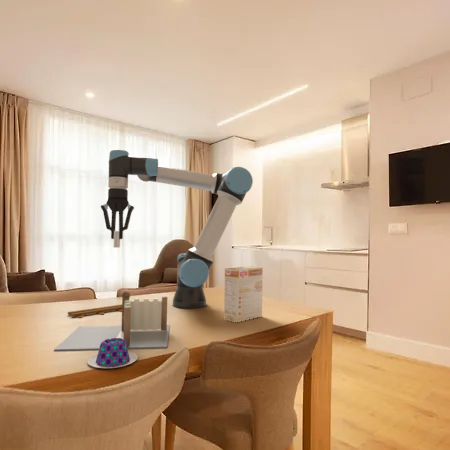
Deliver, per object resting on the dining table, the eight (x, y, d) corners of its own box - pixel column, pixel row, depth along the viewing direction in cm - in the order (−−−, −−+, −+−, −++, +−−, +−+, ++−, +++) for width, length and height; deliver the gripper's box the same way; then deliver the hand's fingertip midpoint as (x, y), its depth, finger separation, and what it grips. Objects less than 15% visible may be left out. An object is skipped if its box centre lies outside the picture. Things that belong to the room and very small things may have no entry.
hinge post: (129, 331, 112) (130, 290, 112) (128, 333, 109) (129, 292, 109) (121, 331, 111) (122, 290, 112) (120, 333, 109) (121, 292, 109)
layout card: (169, 326, 118) (169, 324, 118) (167, 347, 96) (167, 346, 96) (79, 327, 114) (79, 326, 114) (54, 350, 92) (54, 349, 92)
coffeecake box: (249, 313, 139) (250, 265, 140) (262, 316, 134) (263, 267, 135) (223, 319, 129) (224, 267, 129) (236, 323, 124) (237, 269, 124)
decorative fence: (65, 315, 133) (74, 320, 126) (65, 310, 133) (74, 315, 126) (124, 307, 150) (136, 310, 143) (124, 302, 151) (136, 306, 143)
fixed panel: (166, 330, 113) (167, 296, 113) (166, 332, 111) (167, 297, 111) (130, 331, 111) (131, 296, 112) (129, 333, 109) (130, 297, 110)
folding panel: (122, 331, 108) (123, 298, 109) (128, 330, 109) (129, 298, 109) (123, 346, 94) (124, 308, 94) (130, 345, 94) (131, 308, 95)
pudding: (77, 362, 84) (78, 341, 85) (119, 350, 94) (119, 331, 94) (105, 375, 77) (106, 352, 77) (147, 360, 87) (148, 340, 87)
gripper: (98, 186, 133) (96, 247, 132) (134, 188, 134) (132, 247, 134) (102, 189, 140) (101, 246, 139) (136, 190, 142) (135, 247, 141)
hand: (116, 247), depth 137 cm, fingers closed
